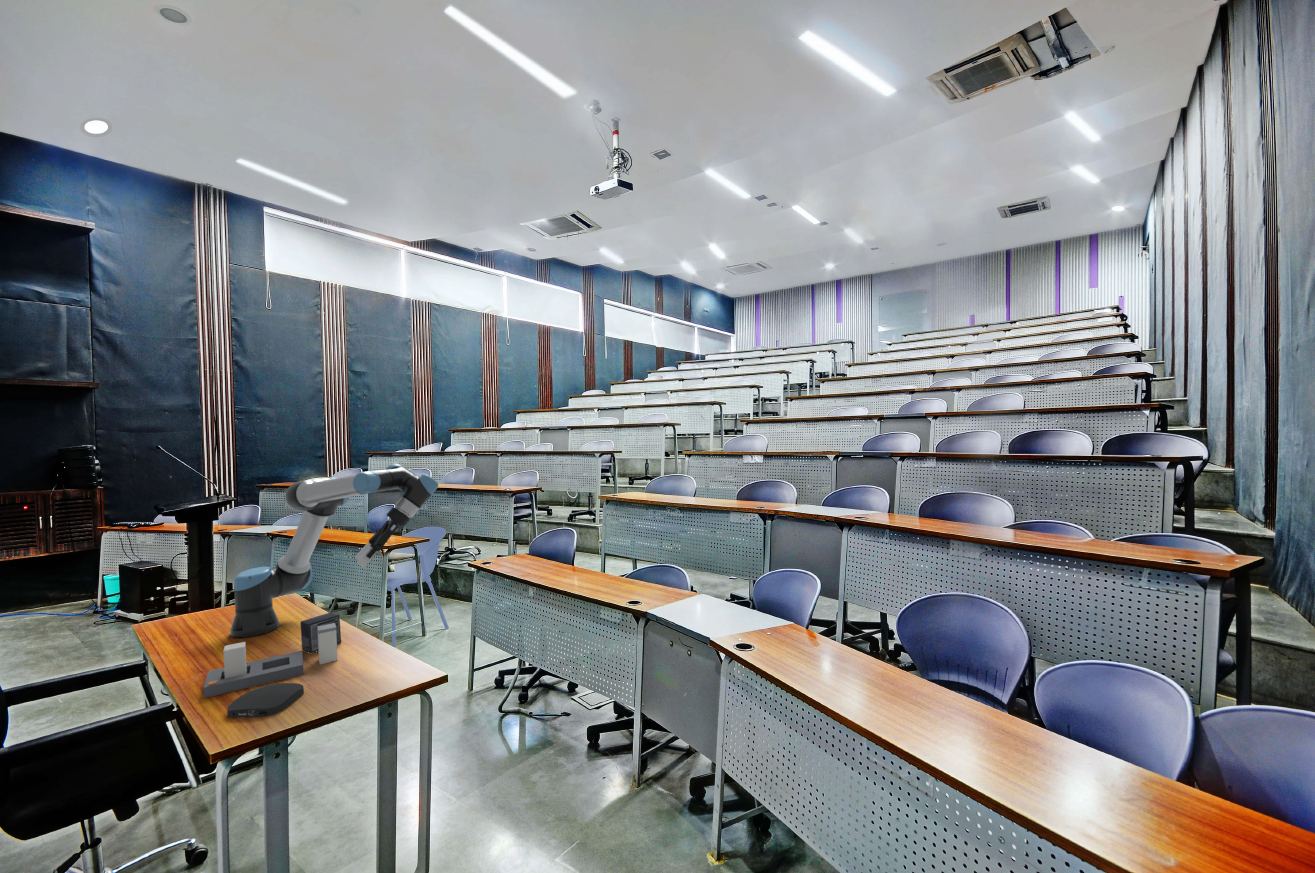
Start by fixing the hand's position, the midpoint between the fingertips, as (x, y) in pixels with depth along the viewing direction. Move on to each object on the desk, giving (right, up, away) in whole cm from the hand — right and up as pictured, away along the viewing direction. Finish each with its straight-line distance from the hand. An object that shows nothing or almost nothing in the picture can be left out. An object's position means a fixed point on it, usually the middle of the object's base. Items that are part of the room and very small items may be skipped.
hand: (358, 562), depth 188 cm
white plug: (-6, -30, -8) cm, 32 cm away
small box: (-15, -31, +4) cm, 35 cm away
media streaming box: (-6, -31, -36) cm, 48 cm away
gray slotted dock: (-21, -31, -19) cm, 42 cm away
